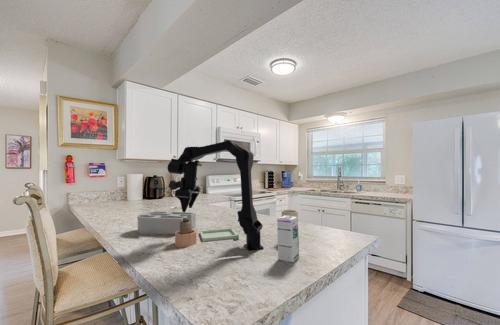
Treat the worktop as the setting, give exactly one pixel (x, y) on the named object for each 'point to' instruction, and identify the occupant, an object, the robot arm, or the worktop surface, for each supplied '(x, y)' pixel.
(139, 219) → the ice cube tray
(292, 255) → the syrup box
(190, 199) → the robot arm
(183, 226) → the pepper mill
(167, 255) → the worktop surface
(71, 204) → the worktop surface
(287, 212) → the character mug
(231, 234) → the tray
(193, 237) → the utensil pot
